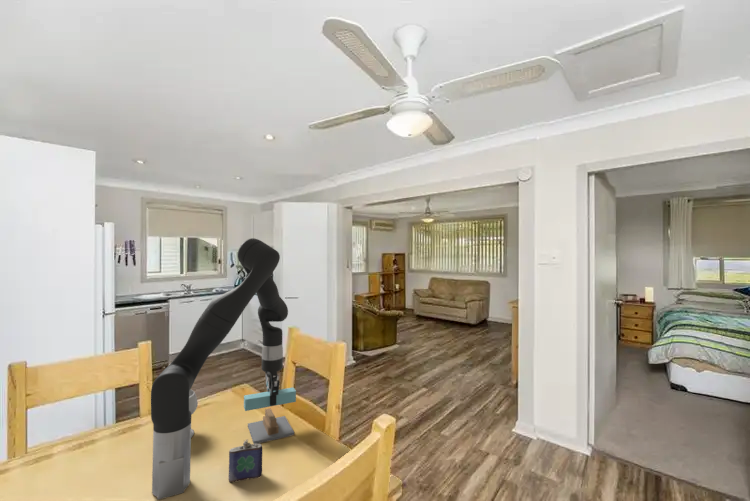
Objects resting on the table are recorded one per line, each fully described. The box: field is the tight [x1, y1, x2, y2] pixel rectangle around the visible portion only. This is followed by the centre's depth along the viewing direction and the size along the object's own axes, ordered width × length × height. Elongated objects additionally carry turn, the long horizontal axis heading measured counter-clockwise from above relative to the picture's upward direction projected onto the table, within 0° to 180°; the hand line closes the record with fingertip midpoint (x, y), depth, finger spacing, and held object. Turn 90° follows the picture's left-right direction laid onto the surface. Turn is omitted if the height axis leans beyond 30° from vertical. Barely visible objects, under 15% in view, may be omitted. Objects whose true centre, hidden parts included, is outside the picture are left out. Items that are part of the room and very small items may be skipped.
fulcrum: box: [247, 407, 295, 444], centre depth 129 cm, size 14×14×6 cm
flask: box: [228, 439, 263, 483], centre depth 103 cm, size 9×3×11 cm, turn 109°
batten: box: [243, 387, 297, 412], centre depth 129 cm, size 4×18×4 cm, turn 118°
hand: (271, 402), depth 129 cm, fingers closed on batten, 4 cm apart
